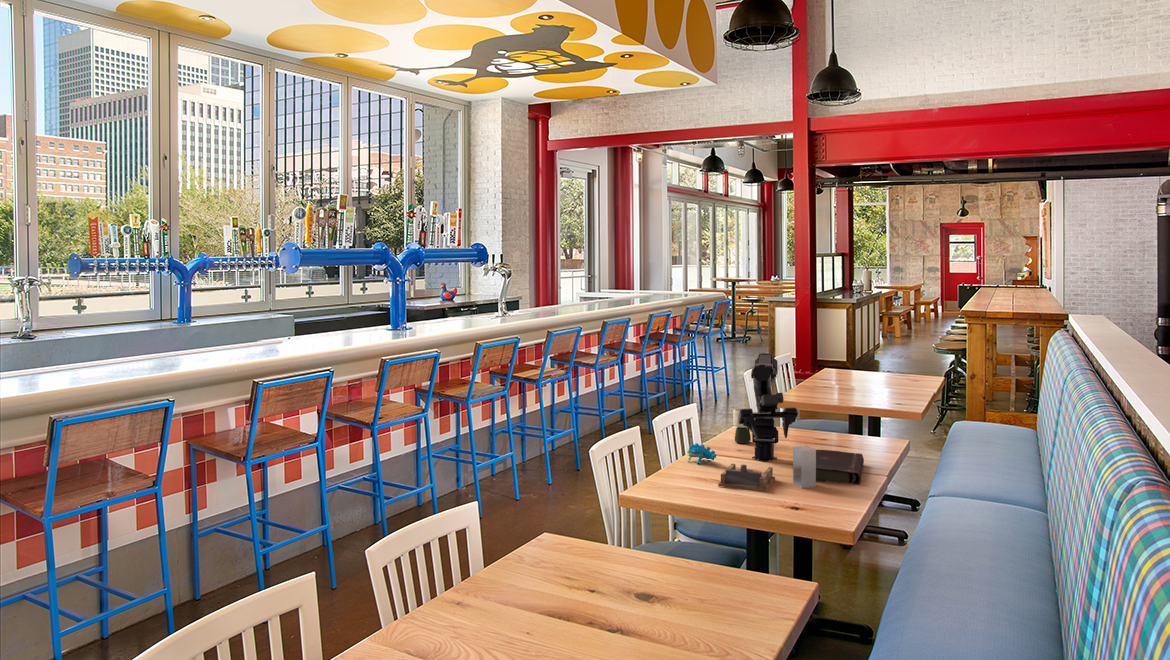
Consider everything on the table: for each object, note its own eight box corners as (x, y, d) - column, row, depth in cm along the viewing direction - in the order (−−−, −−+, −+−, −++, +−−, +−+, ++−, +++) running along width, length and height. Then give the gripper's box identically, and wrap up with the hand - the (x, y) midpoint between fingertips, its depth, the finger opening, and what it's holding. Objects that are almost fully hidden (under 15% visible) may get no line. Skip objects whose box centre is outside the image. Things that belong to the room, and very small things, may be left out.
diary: (863, 467, 263) (864, 452, 263) (860, 487, 240) (860, 472, 240) (807, 461, 270) (808, 447, 270) (799, 481, 247) (799, 465, 247)
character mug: (746, 446, 292) (746, 413, 291) (728, 444, 296) (728, 411, 295) (756, 440, 301) (756, 408, 300) (739, 439, 305) (739, 406, 304)
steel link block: (793, 484, 242) (793, 447, 241) (807, 482, 244) (807, 445, 243) (801, 488, 238) (801, 450, 237) (815, 487, 239) (815, 449, 238)
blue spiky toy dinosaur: (722, 457, 270) (708, 441, 265) (716, 472, 267) (702, 456, 262) (696, 457, 278) (682, 441, 273) (691, 470, 275) (677, 455, 270)
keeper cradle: (729, 475, 254) (729, 454, 253) (775, 479, 248) (775, 458, 247) (718, 486, 241) (718, 464, 241) (765, 491, 235) (765, 469, 234)
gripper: (739, 384, 250) (746, 426, 240) (796, 383, 250) (805, 424, 240) (735, 403, 259) (741, 443, 249) (790, 401, 259) (799, 442, 249)
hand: (771, 438), depth 247 cm, fingers open, 9 cm apart
